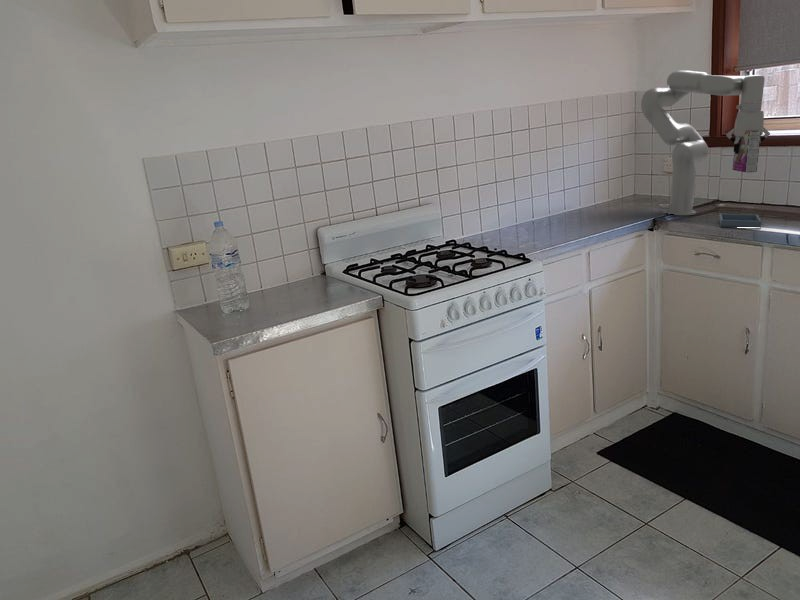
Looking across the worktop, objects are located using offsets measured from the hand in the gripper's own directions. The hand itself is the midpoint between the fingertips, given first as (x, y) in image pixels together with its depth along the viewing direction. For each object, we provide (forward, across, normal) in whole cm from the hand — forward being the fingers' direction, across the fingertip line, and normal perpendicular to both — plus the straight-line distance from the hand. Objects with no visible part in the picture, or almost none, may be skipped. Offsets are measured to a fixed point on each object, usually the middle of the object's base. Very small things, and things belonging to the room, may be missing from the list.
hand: (745, 153), depth 260 cm
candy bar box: (+7, 0, 0) cm, 7 cm away
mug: (+28, -21, +38) cm, 51 cm away
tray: (+28, -1, -9) cm, 29 cm away
